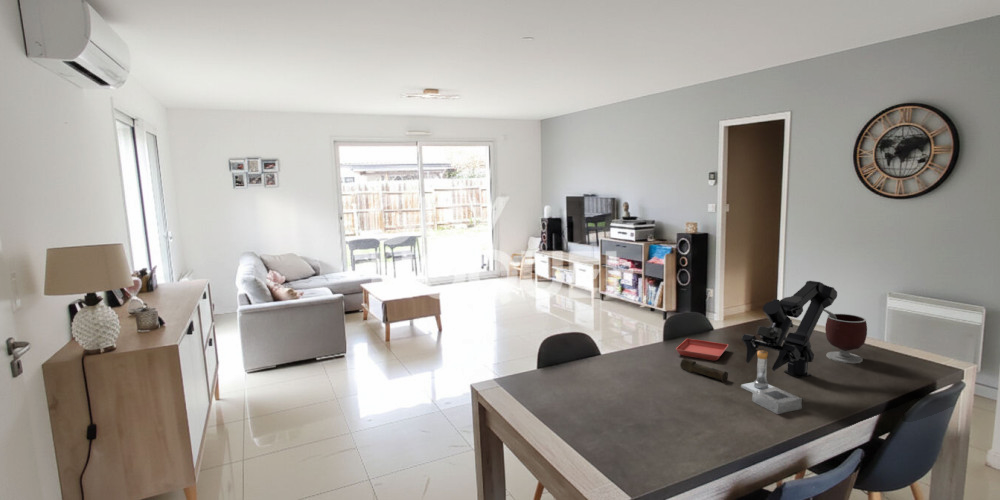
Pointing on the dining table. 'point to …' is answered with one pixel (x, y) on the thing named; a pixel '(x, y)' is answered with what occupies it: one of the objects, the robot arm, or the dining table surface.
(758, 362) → the silver metal peg
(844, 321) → the mate gourd
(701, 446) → the dining table surface
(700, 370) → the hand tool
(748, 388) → the rubber mat
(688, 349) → the plant saucer
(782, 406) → the block
